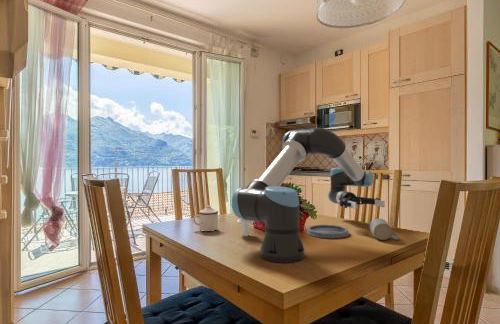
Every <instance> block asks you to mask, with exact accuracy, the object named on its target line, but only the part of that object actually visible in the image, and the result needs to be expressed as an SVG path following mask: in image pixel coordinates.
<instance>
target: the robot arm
mask: <svg viewBox="0 0 500 324" xmlns="http://www.w3.org/2000/svg"><path fill="white" fill-rule="evenodd" d="M281 142H282V143H281V146H282V150H281V151H280V152H279V154H278V155H277V156H276V157H275V158H274V159H273V161H272V162H271V163H270V165H269V166H268V167H266V169H265V170H264V171H263V172H262V174H261V175H260V176H259V177H258V179H252V180H251V181H250V182H249V183H248V185H246V187H240V188H237V189H236V190H235V191H234V192H233V193H232V197H231V208H232V209H231V210H232V212H233V213H234V215H235V217H237V218H238V219H239V218H242V219H244V220H252V221H253V222H260V223H264V231H265V232H264V236H263V240H262V242H261V245H260V251H259V252H260V257H261V258H262V259H263V260H265V261H269V262H273V263H282V264H283V263H285V264H286V263H293V262H294V263H295V262H300V261H302V260H304V259H305V257H306V251H305V247H304V243H303V241H302V238H301V237H302V236H301V235H300V199H299V193H298V191H297V190H296V189H295V188H291V187H286V186H282V184H283V183H284V181H285V180H286V179H287V178H288V176H289V175H290V173H292V171H293V170H294V169H295V168H296V166H297V164H298V163H300V162H303V161H305V160H306V158H307V157H308V156H309V155H324V156H326V157H327V158H328V159H331V160H333V161H334V163H336V164H337V165H338V167H332V168H331V169H330V176H329V178H330V190H329V191H328V192H327V198H328V200H329V201H330V202H332V203H333V204H336V205H337V204H338V205H340V207H344V209H348V208H351V209H354V210H357V209H358V208H357V205H359V206H360V205H374V206H375V207H376V206H377V207H380V208H386V204H385V200H382V199H380V198H378V197H375V198H373V197H364V196H362V197H361V196H357V195H356V194H355V193H354V192H350V191H347V190H346V186H348V187H351V186H352V187H363V188H364V187H372V185H373V184H374V175H373V173H372V172H371V171H365V170H364V169H363V168H362V167H361V166H360V164H359V163H358V162H357V161H356V159H355V158H354V156H353V155H351V153H350V152H349V151H348V149H347V148H346V143H345V142H344V140H343V139H342V138H341V137H340V136H339V135H337V134H336V133H334V132H333V131H332V130H329V129H327V128H323V127H314V128H313V127H312V128H303V129H292V130H289V131H287V132H286V133H284V135H283V138H282V141H281Z"/></svg>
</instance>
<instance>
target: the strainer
mask: <svg viewBox="0 0 500 324" xmlns="http://www.w3.org/2000/svg"><path fill="white" fill-rule="evenodd" d="M236 221H237V224H238V225H241V235H244V236H243V237H249V236H250V225H251V224H254V221H252V220H244V219H242V218H239V217H238V219H237V220H236ZM248 235H249V236H248Z"/></svg>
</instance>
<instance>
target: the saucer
mask: <svg viewBox="0 0 500 324" xmlns="http://www.w3.org/2000/svg"><path fill="white" fill-rule="evenodd" d="M306 234H307V235H308V236H310V237H314V238H318V239H319V238H320V239H333V240H335V239H343V238H347V237H348V236H349V234H350V233H349V229H348V228H347V227H344V226H341V225H335V224H314V225H309V226H308V227H306Z"/></svg>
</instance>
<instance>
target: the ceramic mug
mask: <svg viewBox="0 0 500 324" xmlns="http://www.w3.org/2000/svg"><path fill="white" fill-rule="evenodd" d="M392 229H393V228H392V227H391V225H390V224H389V223H388V222H387V220H385V219H383V218H380V217H379V218H375V219H372V220H371V221H370V223H369V231H370V233H371V234H372V235H373V236H374V237H375V239H378V240H379V241H387V240H390V238H391V239H394V240H397V241H399V239H400V235H399V234H397V233H395V232H394V231H393V230H392Z"/></svg>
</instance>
